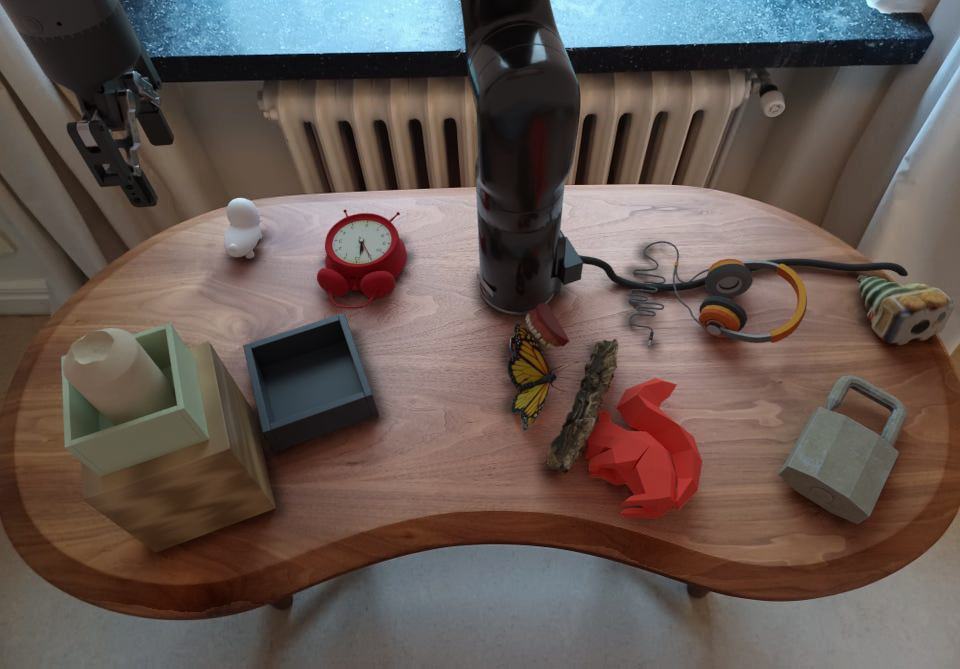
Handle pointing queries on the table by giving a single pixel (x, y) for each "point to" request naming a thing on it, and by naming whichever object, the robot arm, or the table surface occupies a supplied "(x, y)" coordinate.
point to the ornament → (904, 309)
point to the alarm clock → (362, 257)
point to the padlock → (845, 454)
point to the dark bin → (308, 382)
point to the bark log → (584, 408)
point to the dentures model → (543, 329)
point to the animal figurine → (646, 452)
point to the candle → (117, 376)
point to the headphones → (723, 312)
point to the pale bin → (148, 434)
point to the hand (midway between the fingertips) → (155, 172)
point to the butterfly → (529, 377)
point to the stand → (192, 472)
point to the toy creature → (242, 228)
